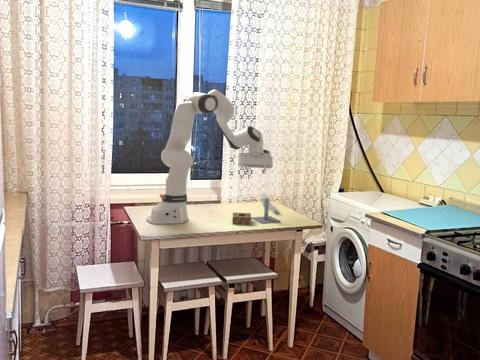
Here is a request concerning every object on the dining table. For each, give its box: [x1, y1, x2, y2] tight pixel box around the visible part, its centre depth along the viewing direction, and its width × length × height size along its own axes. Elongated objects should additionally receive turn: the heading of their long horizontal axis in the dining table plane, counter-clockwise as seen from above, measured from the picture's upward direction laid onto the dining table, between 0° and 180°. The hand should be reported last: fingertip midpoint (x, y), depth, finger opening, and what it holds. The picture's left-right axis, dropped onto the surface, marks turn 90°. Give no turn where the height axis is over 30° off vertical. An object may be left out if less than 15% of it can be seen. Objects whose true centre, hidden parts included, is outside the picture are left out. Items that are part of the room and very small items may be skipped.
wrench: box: [260, 192, 280, 216], centre depth 288 cm, size 8×2×30 cm
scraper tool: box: [263, 197, 270, 220], centre depth 259 cm, size 2×3×12 cm, turn 1°
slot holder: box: [232, 212, 252, 226], centre depth 254 cm, size 10×10×4 cm
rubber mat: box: [251, 215, 281, 225], centre depth 260 cm, size 12×12×1 cm
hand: (255, 172), depth 269 cm, fingers open, 8 cm apart
